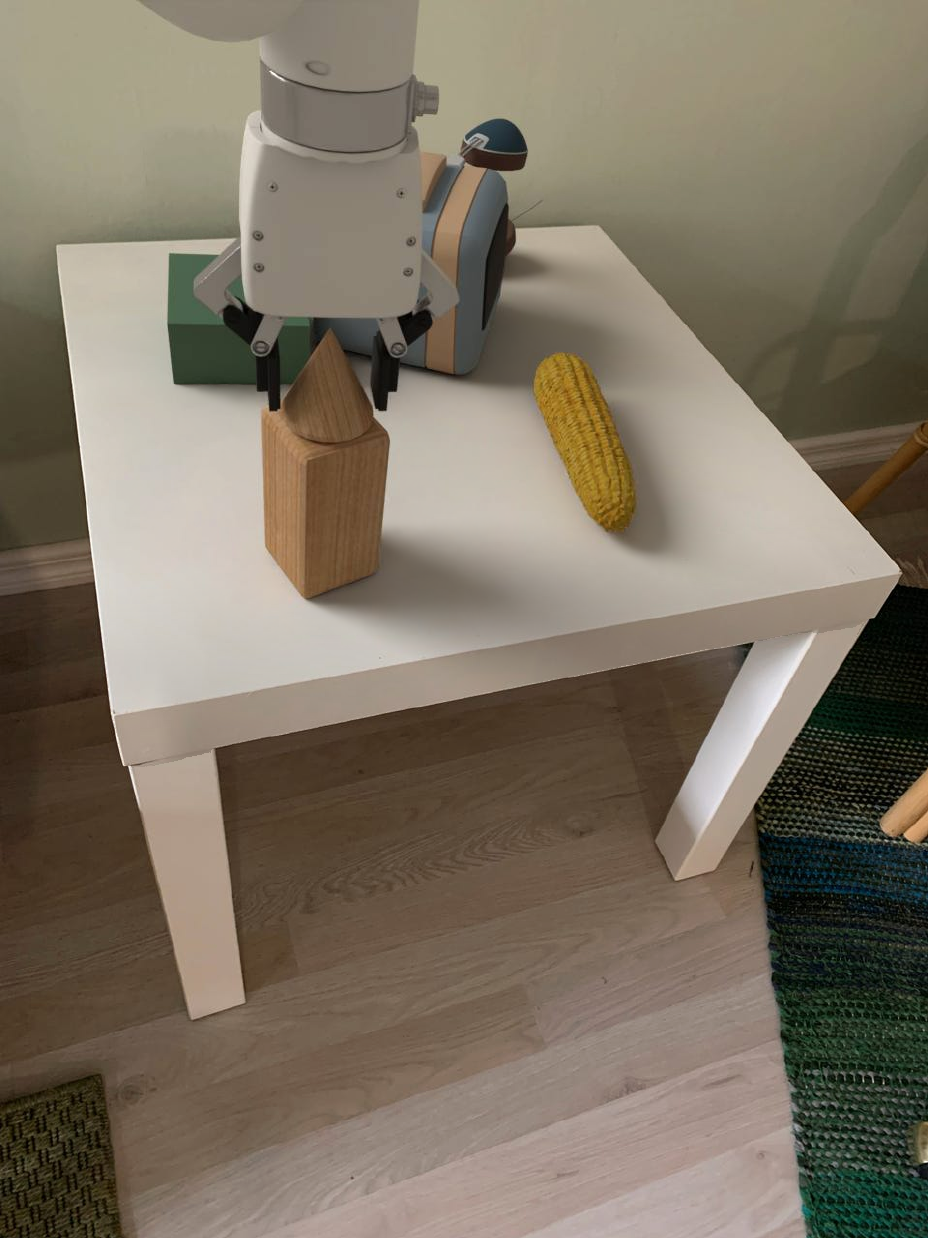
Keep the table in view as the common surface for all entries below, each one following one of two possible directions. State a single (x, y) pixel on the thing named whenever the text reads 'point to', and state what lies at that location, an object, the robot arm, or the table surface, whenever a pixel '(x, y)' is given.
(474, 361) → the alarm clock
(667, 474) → the table surface
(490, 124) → the headphones
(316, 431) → the decorative item
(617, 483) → the food
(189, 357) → the green block
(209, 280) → the robot arm
